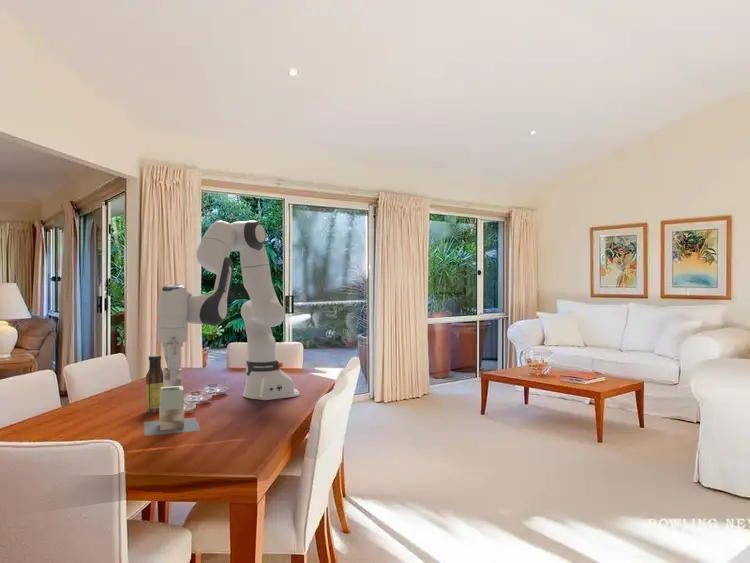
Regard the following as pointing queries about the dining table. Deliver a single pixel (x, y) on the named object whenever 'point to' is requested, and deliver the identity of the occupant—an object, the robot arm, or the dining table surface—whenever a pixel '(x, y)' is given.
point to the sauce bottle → (154, 384)
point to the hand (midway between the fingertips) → (172, 379)
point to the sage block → (172, 398)
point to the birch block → (171, 419)
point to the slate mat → (154, 429)
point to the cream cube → (167, 378)
